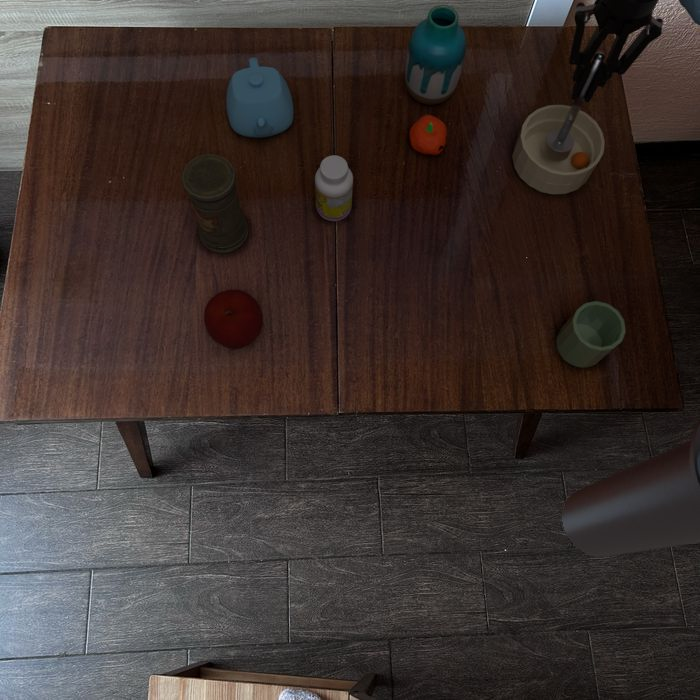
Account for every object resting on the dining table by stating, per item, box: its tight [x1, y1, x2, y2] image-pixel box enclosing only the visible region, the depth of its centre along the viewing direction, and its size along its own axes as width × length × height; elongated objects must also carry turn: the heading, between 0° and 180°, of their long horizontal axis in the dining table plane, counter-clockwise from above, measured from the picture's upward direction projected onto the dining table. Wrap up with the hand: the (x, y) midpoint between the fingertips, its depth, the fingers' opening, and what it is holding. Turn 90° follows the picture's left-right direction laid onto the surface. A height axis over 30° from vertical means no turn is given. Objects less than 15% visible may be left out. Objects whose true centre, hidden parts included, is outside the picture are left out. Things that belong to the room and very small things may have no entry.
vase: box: [404, 4, 467, 106], centre depth 129 cm, size 11×11×19 cm
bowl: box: [511, 104, 606, 195], centre depth 130 cm, size 15×15×7 cm
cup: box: [555, 300, 627, 368], centre depth 116 cm, size 8×9×9 cm
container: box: [181, 153, 249, 255], centre depth 117 cm, size 9×9×18 cm
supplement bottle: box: [314, 154, 354, 222], centre depth 122 cm, size 7×7×13 cm
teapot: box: [225, 56, 295, 139], centre depth 129 cm, size 13×11×18 cm
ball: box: [572, 152, 588, 168], centre depth 131 cm, size 3×3×3 cm
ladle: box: [542, 50, 606, 162], centre depth 120 cm, size 5×5×23 cm
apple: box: [203, 288, 264, 350], centre depth 115 cm, size 10×10×10 cm
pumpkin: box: [408, 114, 448, 156], centre depth 131 cm, size 7×8×6 cm
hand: (581, 94), depth 118 cm, fingers closed on ladle, 2 cm apart
